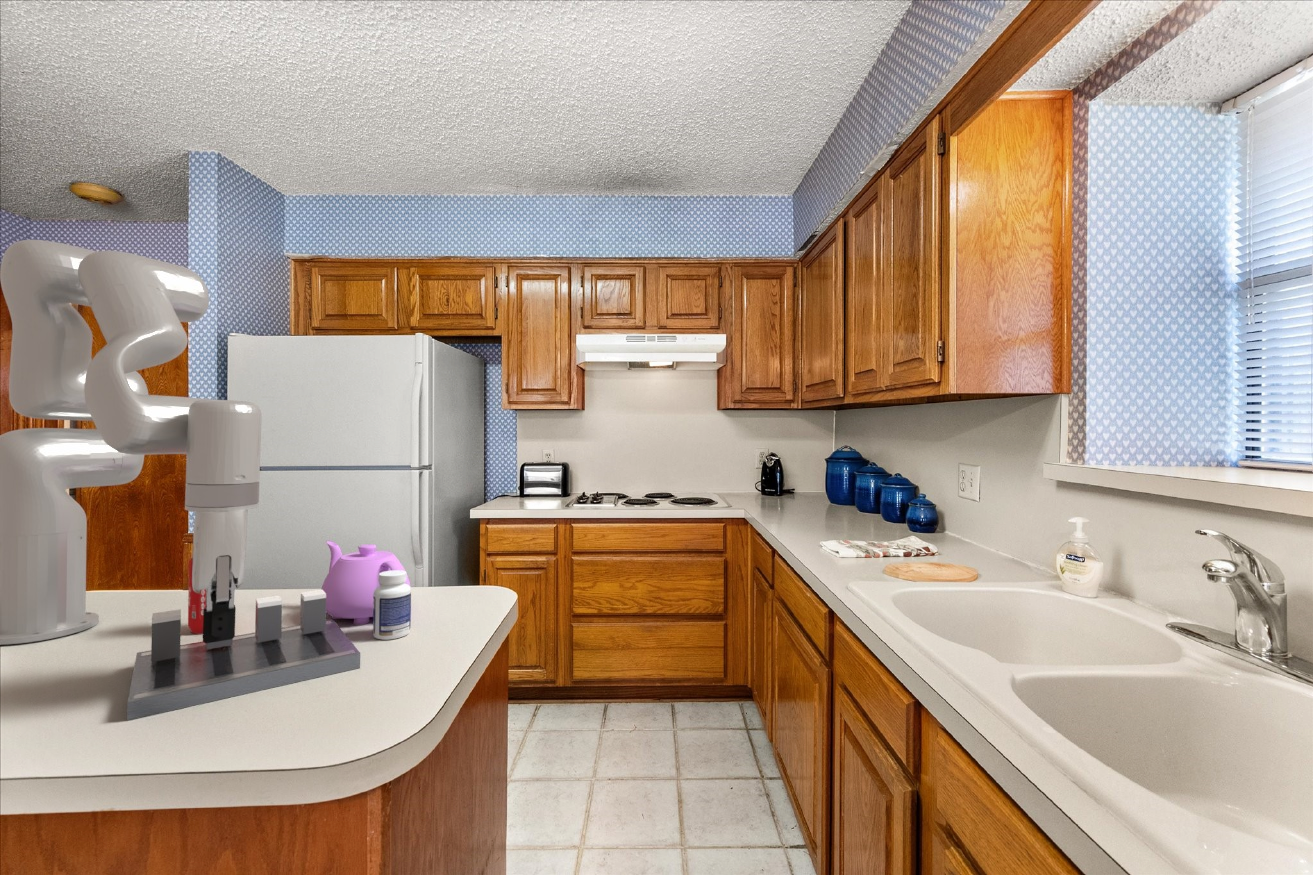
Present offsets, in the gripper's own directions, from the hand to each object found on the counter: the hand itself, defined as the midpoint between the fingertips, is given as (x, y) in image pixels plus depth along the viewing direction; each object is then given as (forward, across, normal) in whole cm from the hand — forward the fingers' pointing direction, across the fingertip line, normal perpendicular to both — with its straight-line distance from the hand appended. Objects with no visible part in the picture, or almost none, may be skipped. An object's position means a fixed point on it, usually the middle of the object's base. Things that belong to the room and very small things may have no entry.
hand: (218, 639), depth 73 cm
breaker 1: (+3, -5, -5) cm, 8 cm away
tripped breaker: (+3, -6, 0) cm, 7 cm away
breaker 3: (+3, -5, +11) cm, 13 cm away
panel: (+5, -1, +3) cm, 6 cm away
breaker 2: (+3, -5, +6) cm, 8 cm away
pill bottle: (+5, -3, +22) cm, 23 cm away
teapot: (+5, -17, +21) cm, 28 cm away
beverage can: (+6, -23, 0) cm, 24 cm away
